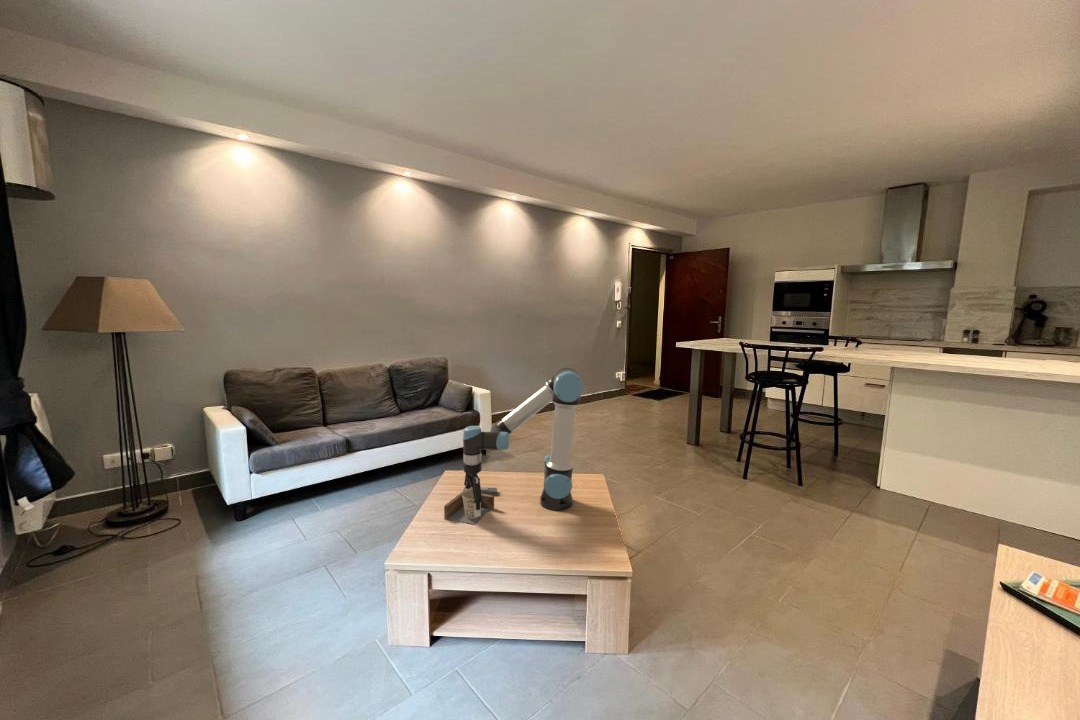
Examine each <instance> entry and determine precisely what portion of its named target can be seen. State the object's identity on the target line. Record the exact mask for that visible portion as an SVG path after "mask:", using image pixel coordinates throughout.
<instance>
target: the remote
mask: <svg viewBox="0 0 1080 720" xmlns="http://www.w3.org/2000/svg"><path fill="white" fill-rule="evenodd" d="M480 487H481V486H480ZM471 488H472V487H471ZM463 491H466V488H465V487H463V490H462V492H463ZM481 493H482V494H487V495H492V496H497V494H498V487H489V486H488V487H486V486H485V487H483V486H482V487H481Z"/></svg>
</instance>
